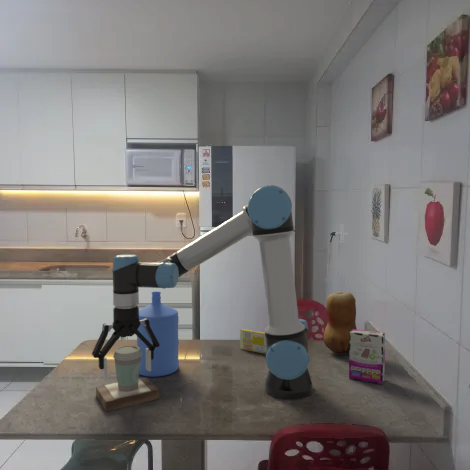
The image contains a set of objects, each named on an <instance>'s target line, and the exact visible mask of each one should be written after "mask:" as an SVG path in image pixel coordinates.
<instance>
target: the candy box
mask: <svg viewBox="0 0 470 470" xmlns="http://www.w3.org/2000/svg"><path fill="white" fill-rule="evenodd" d="M239 330H240V332H239V334H240V335H239V350H243V351H249V352H255V353H258V354H259V353H260V354H264V355H266V353H267V347H266V339H265V331H257V330H251V329H245V328H240V329H239Z"/></svg>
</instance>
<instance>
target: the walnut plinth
mask: <svg viewBox="0 0 470 470" xmlns="http://www.w3.org/2000/svg"><path fill="white" fill-rule="evenodd" d="M95 395H96V398H97V399H98V401H99V402H100V404H101V406H102V407H103V409H104V411H106V412H110V411H111V412H112V411H115V410H119V409H123V408H126V407H131V406H136V405H139V404H143V403H146V402H150V401H151V402H152V401H155V400H156V401H157V400H159V399H160V389H159V388H158V387H157V386H156V385H155V384H154V383H153V382H152V381H151V380H150V379H149V378H148V376H142V377H139V381H138V388H137V389H135V390H133V391H128V392H125V391H120V390H119V388H118V381H117V382H111V383H108V384H104V385H99V386H96V387H95Z"/></svg>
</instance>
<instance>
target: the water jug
mask: <svg viewBox="0 0 470 470" xmlns="http://www.w3.org/2000/svg"><path fill="white" fill-rule="evenodd" d="M161 294H162V292H161V291H153V292H151V295H152V296H151V303H150V304H148V305H146V306H144V307H142V308H139V320H143V319H144V318H146V319H148V320H149V323H150V327H151V329H152V331H153V333H154V335H155V337H156V339H157V341H158V342H159V347H156V348H155V350H154V358H153V359H152V360H151V371H148V370H147V369H146V349H147V348H148V347H147V346H146V345H145V344H144V343H143V342H142V341H141V340H140V338H139V337H138V336H137V335H136V346H138V347H139V348H140V350H141V352H142V356H141V361H140V371H139V376H142V377H147V378H148V377H149V378H151V377H152V378H158V377H164V376H168V375H171V374H173V373H175V372H176V371H177V370H178V369H179V366H180V364H179V363H180V361H179V344H180V342H179V311H178V310H177V309H175V308H173V307H170V306H169V305H165V304H163V303H162V302H161V301H162V300H161V299H162V297H161ZM137 330H138V331H139V332H140V333H141V334H142V335H143V336H144V337H145V338H146V339H147V340H148V341H149V342H150V343H151V344H152V343H153V342H152V341H151V339H150V337H149V335H148V333H147V331H146V329H145V328H144V326H142V324H140V326H139V328H138V329H137Z"/></svg>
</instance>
